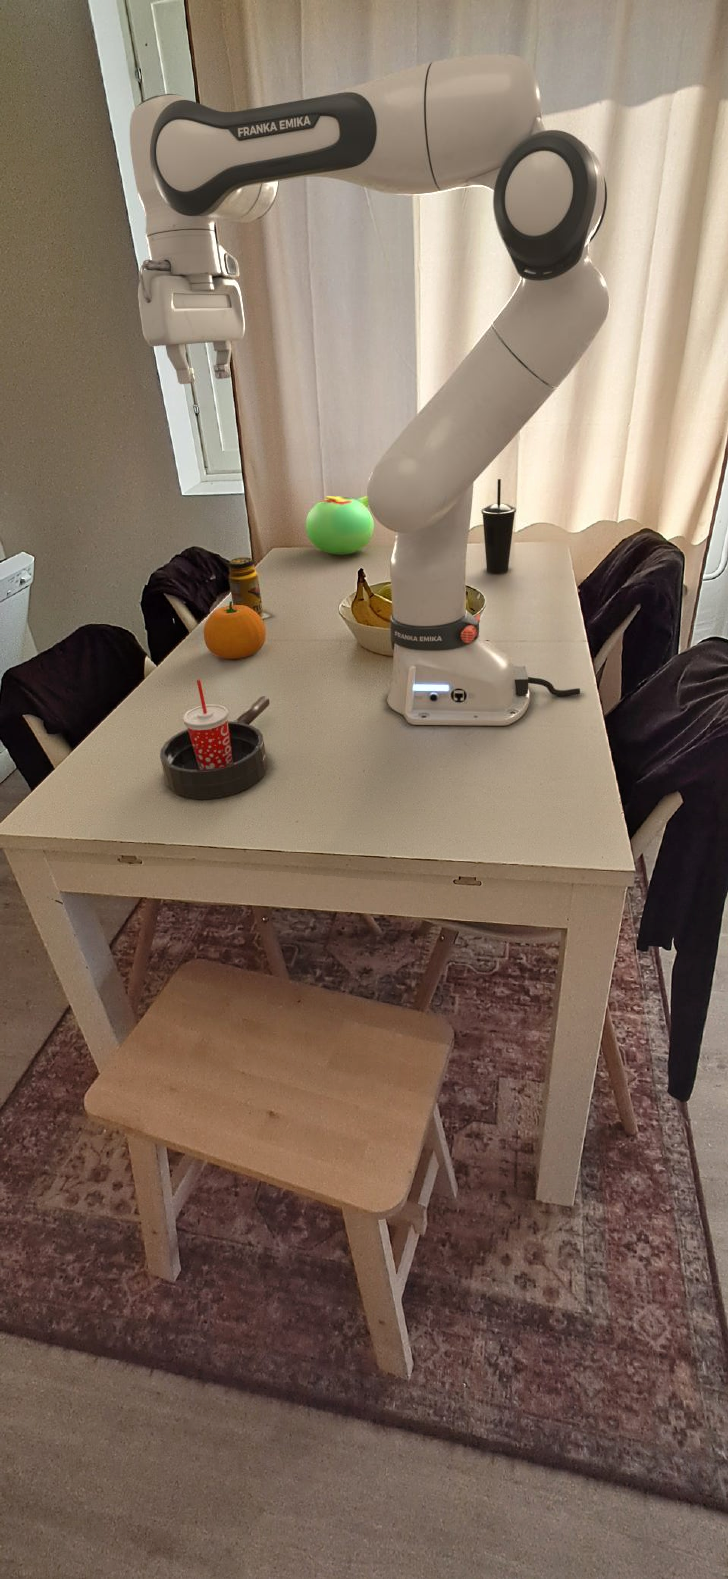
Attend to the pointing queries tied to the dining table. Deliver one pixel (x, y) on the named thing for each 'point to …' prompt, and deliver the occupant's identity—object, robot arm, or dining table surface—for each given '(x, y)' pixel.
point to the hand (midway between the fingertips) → (205, 381)
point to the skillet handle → (252, 713)
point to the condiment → (245, 585)
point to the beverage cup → (209, 734)
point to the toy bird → (340, 525)
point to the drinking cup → (498, 534)
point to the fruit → (234, 632)
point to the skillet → (216, 781)
